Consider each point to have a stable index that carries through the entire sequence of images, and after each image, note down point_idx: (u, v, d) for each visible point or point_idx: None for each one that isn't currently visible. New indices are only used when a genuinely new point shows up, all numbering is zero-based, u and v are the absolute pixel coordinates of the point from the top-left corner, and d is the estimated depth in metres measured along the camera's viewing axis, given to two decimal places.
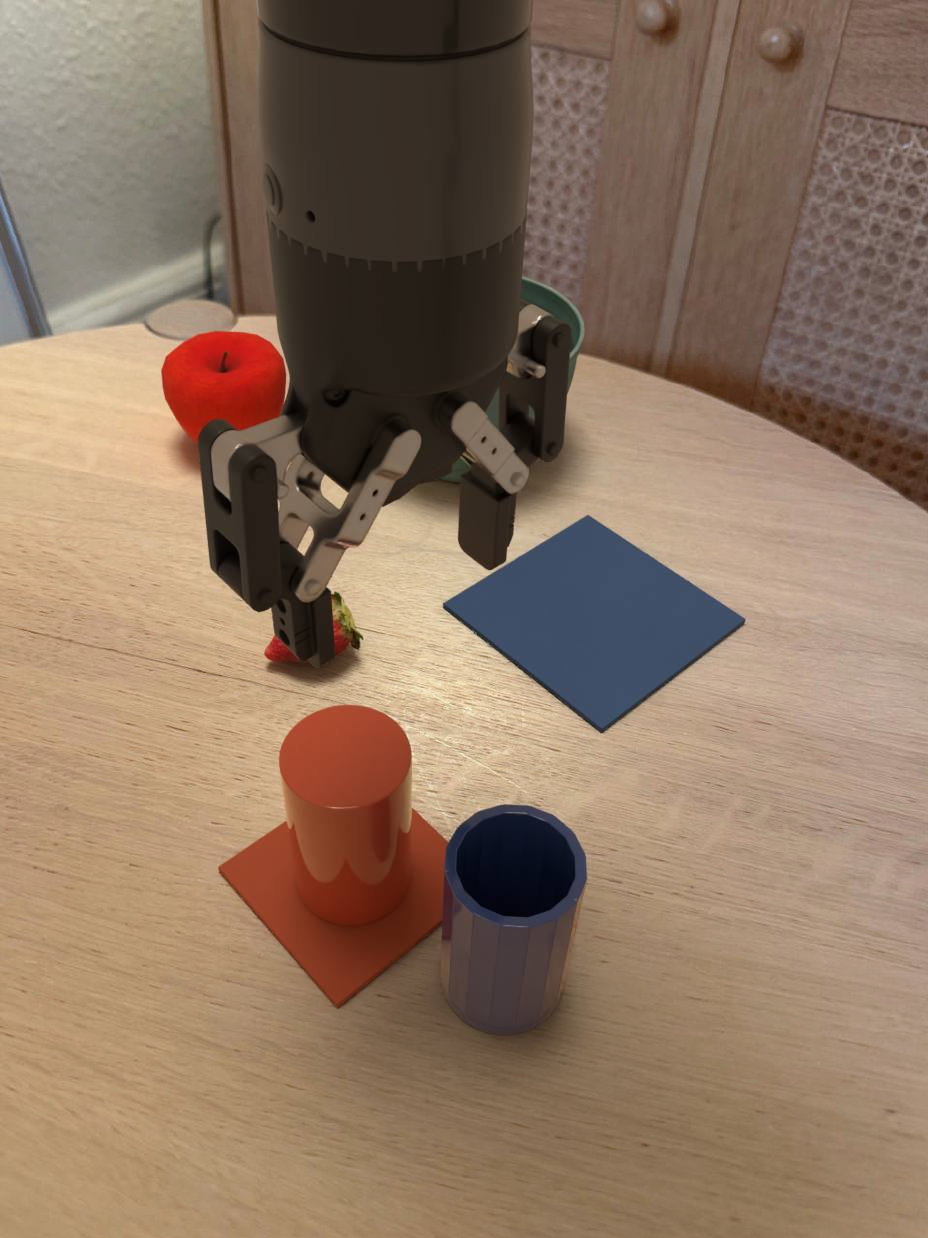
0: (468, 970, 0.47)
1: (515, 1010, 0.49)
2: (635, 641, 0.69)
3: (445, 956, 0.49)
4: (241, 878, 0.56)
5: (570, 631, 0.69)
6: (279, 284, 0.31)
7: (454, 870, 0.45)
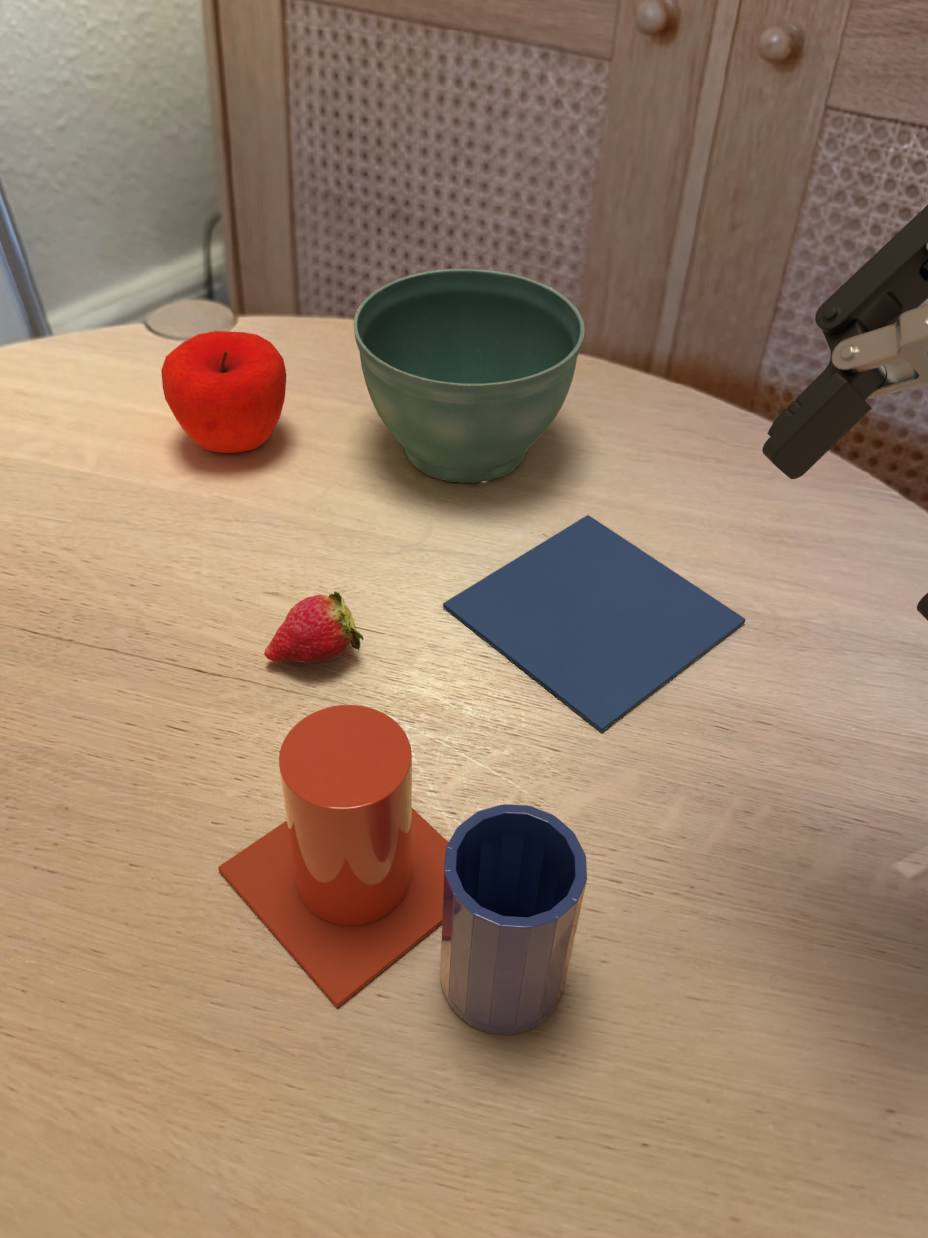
0: (468, 970, 0.47)
1: (515, 1010, 0.49)
2: (635, 641, 0.69)
3: (445, 956, 0.49)
4: (241, 878, 0.56)
5: (570, 631, 0.69)
6: None
7: (454, 870, 0.45)
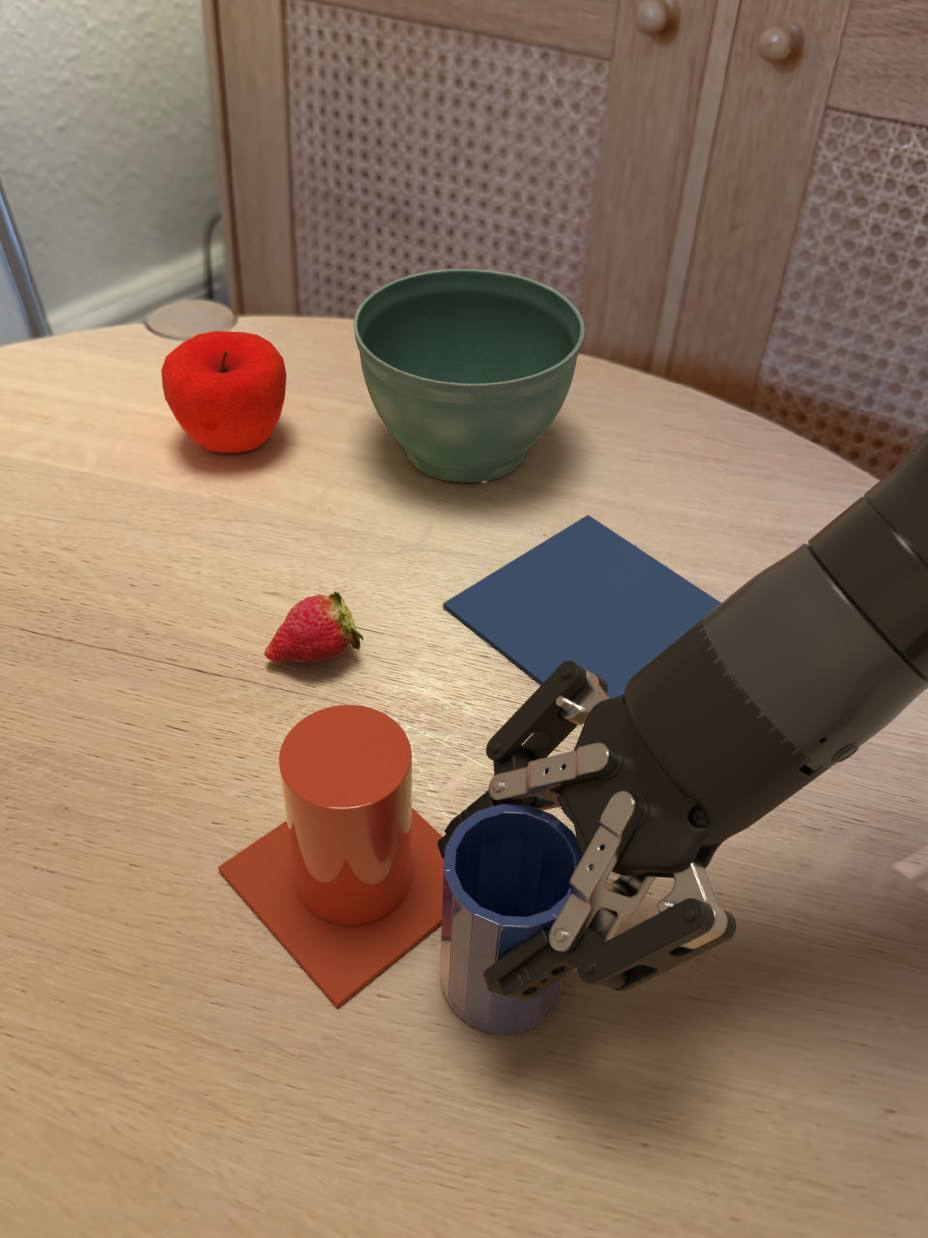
0: (468, 970, 0.47)
1: (515, 1010, 0.49)
2: (635, 641, 0.69)
3: (445, 956, 0.49)
4: (241, 878, 0.56)
5: (570, 631, 0.69)
6: None
7: (453, 870, 0.45)
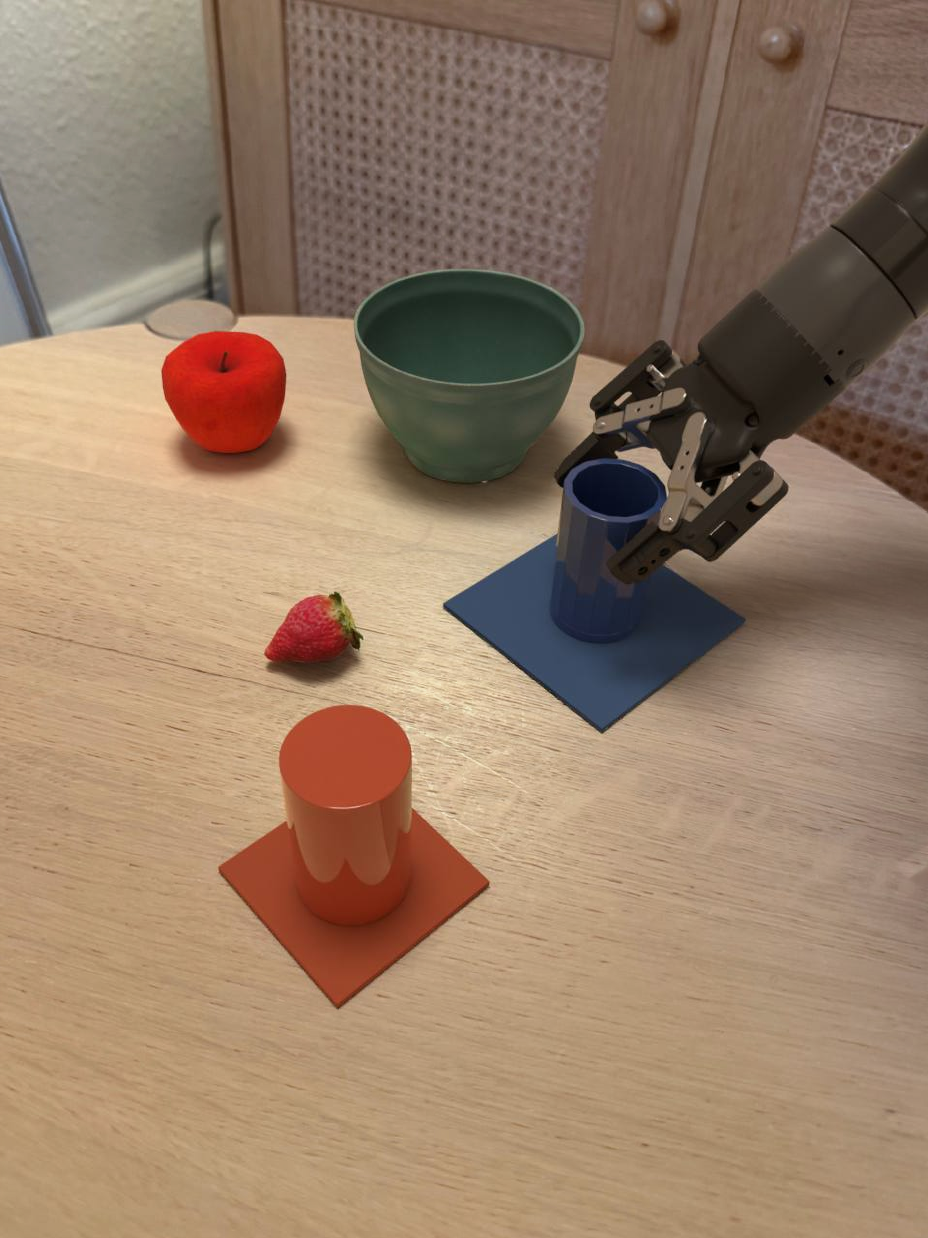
0: (578, 576, 0.65)
1: (610, 614, 0.67)
2: (635, 641, 0.69)
3: (558, 577, 0.67)
4: (241, 878, 0.56)
5: None
6: None
7: (571, 492, 0.63)
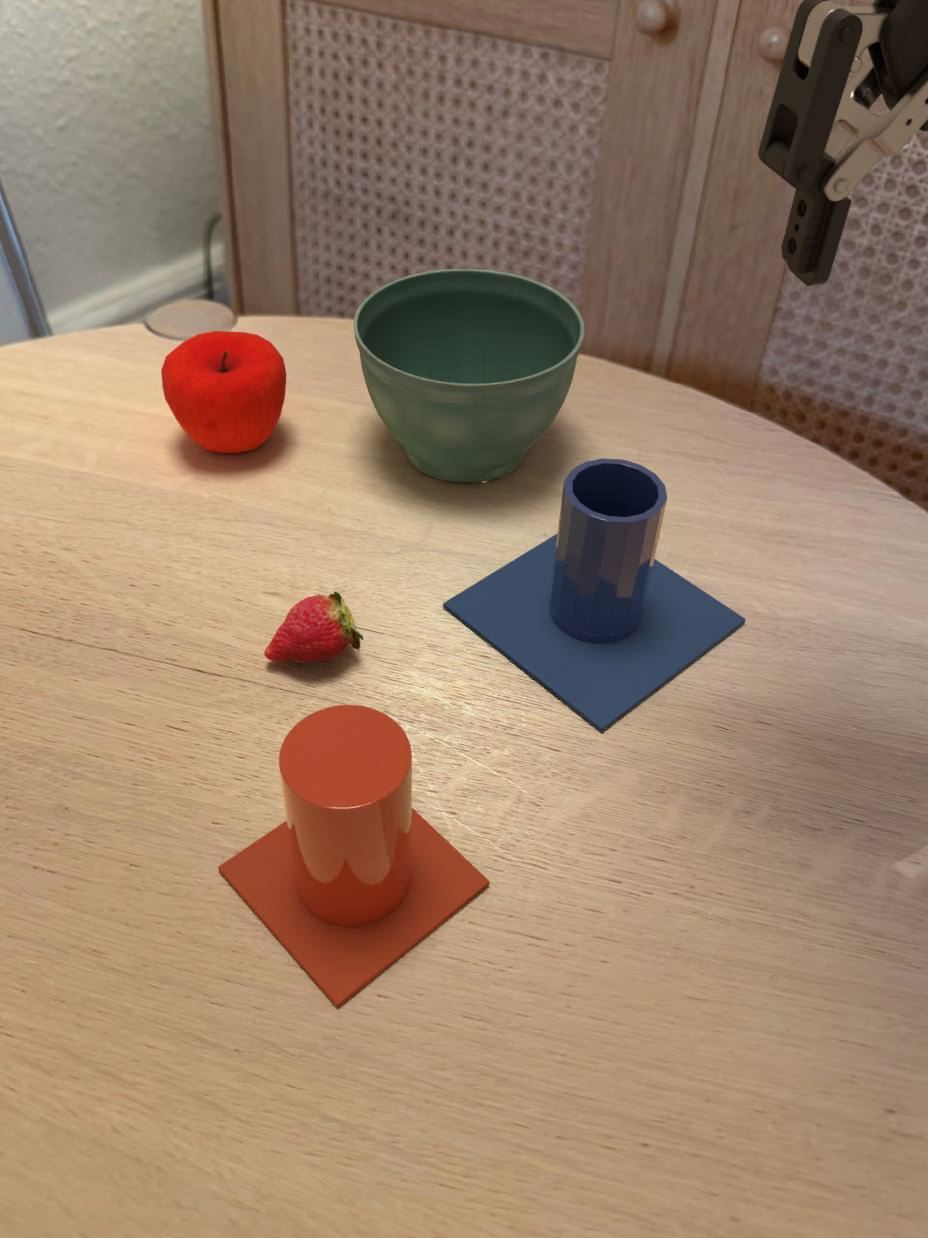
0: (578, 576, 0.65)
1: (610, 614, 0.67)
2: (635, 641, 0.69)
3: (558, 577, 0.67)
4: (241, 878, 0.56)
5: None
6: None
7: (571, 492, 0.63)
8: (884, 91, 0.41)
